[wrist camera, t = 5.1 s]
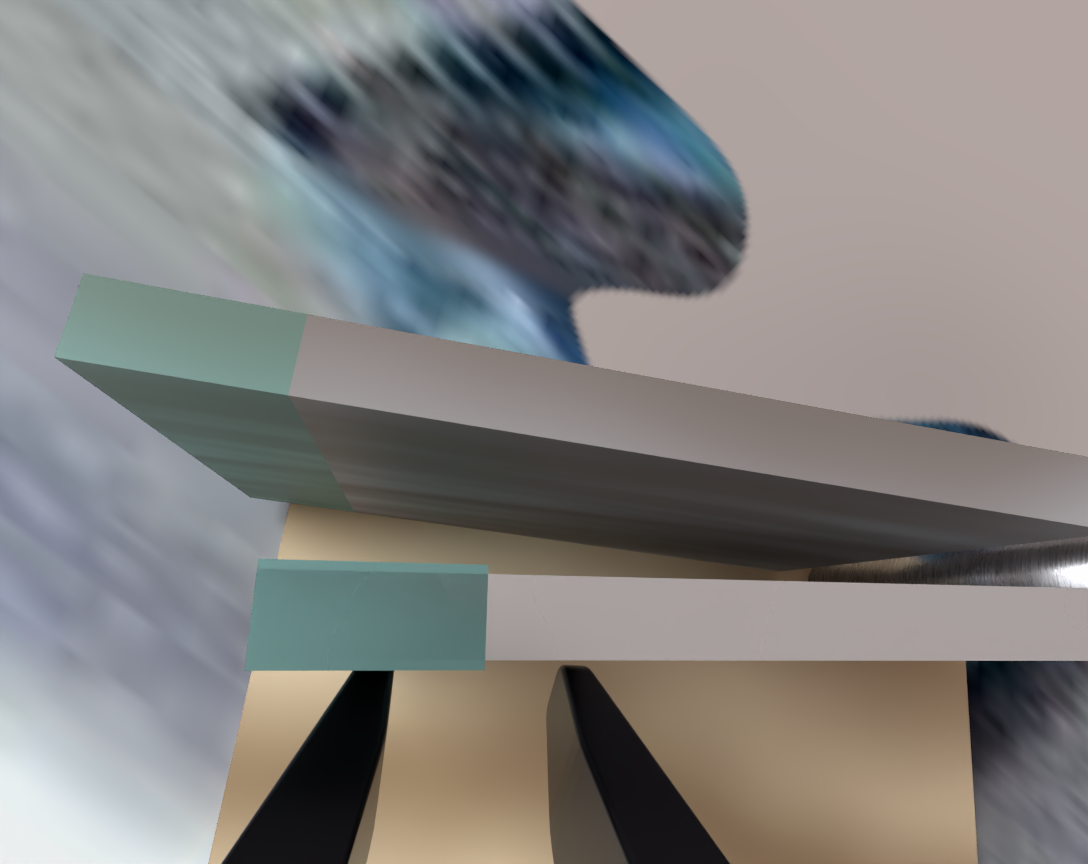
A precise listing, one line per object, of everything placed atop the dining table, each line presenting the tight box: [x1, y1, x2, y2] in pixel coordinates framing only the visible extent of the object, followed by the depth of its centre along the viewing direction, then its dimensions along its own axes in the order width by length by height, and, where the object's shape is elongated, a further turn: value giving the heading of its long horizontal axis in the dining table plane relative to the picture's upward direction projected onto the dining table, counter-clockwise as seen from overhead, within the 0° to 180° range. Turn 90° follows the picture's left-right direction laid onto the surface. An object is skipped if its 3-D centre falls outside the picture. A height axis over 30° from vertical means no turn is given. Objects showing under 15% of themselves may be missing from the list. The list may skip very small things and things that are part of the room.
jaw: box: [244, 537, 1088, 671], centre depth 12 cm, size 2×13×9 cm, turn 89°
